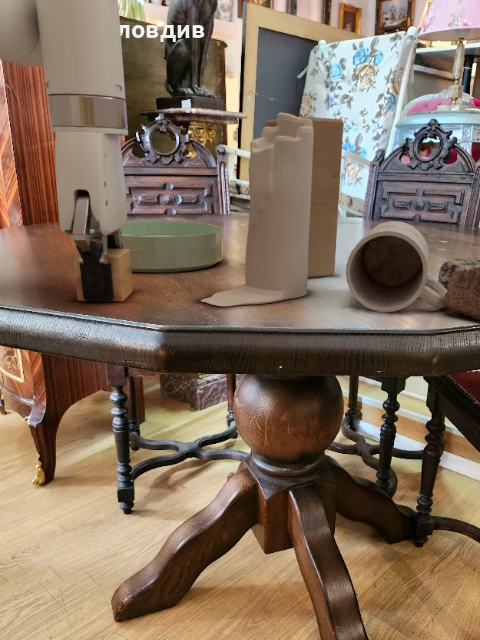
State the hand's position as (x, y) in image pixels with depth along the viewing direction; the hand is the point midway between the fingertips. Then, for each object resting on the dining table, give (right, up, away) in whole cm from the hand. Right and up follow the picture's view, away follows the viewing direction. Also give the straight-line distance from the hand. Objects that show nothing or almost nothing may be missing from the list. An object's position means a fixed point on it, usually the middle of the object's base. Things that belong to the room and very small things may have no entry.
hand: (105, 292), depth 64 cm
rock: (+49, +1, +5) cm, 49 cm away
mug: (+35, +4, +5) cm, 36 cm away
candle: (+17, 0, +2) cm, 17 cm away
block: (0, 0, 0) cm, 0 cm away
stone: (+41, -2, -2) cm, 41 cm away
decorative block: (+22, +6, +18) cm, 29 cm away
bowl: (+1, +8, +22) cm, 23 cm away
